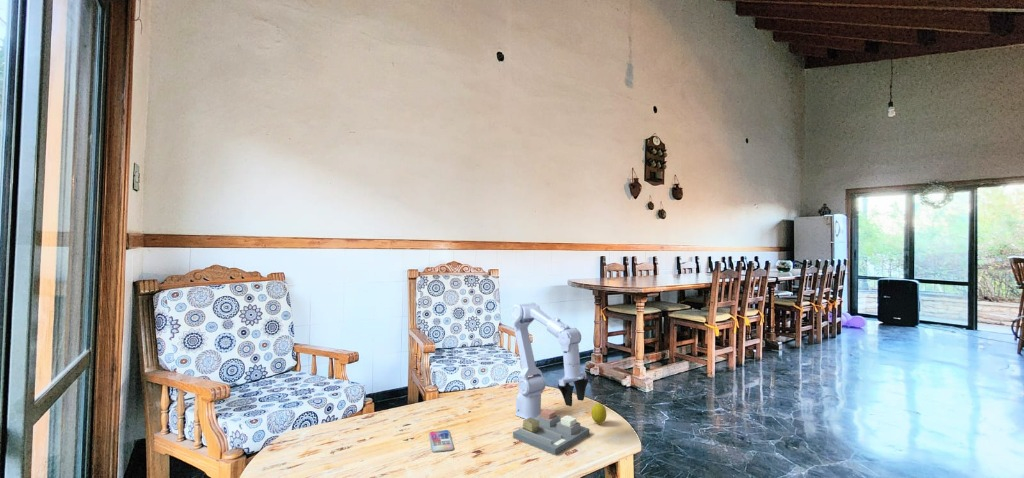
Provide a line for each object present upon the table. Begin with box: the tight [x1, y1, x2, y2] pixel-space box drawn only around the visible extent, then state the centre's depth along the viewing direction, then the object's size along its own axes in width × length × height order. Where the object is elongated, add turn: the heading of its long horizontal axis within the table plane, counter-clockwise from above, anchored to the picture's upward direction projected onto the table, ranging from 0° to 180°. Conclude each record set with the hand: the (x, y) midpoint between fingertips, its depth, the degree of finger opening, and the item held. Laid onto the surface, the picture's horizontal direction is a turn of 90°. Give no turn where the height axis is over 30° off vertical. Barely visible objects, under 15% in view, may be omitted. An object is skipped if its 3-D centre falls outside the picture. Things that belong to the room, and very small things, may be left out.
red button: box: [541, 408, 557, 420], centre depth 161 cm, size 4×4×2 cm
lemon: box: [591, 402, 607, 425], centre depth 165 cm, size 6×6×8 cm
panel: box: [512, 414, 591, 456], centre depth 154 cm, size 18×21×4 cm
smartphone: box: [428, 429, 455, 454], centre depth 148 cm, size 7×1×15 cm
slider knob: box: [522, 417, 539, 433], centre depth 153 cm, size 4×4×4 cm
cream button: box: [560, 415, 577, 427], centre depth 155 cm, size 4×4×2 cm
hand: (574, 402), depth 153 cm, fingers open, 7 cm apart
